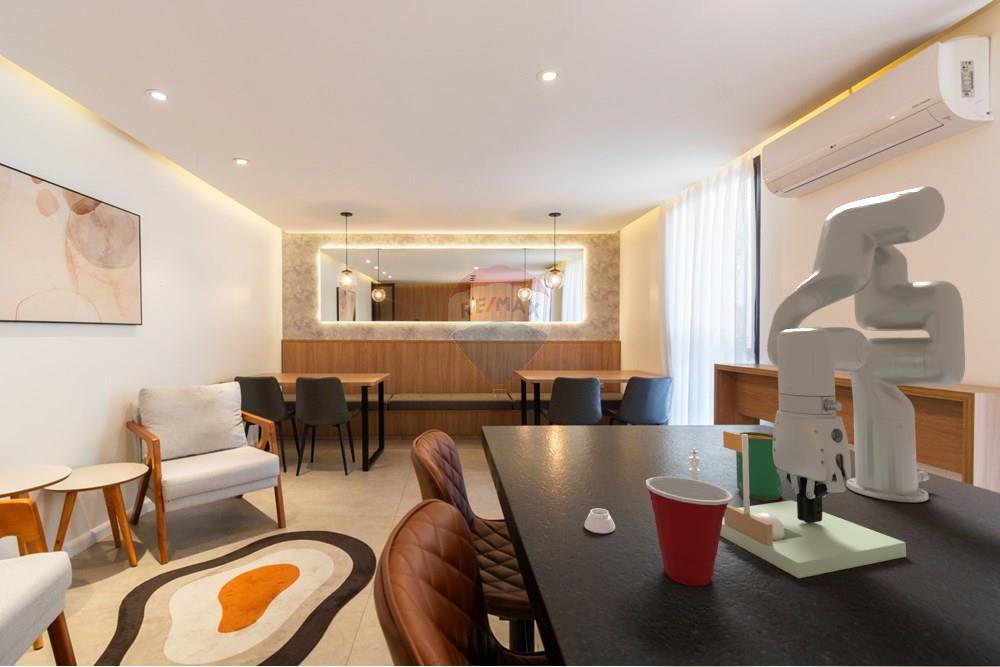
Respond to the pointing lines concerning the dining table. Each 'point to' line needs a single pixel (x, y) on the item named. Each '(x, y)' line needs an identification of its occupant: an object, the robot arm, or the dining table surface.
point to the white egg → (773, 525)
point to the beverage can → (760, 468)
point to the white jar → (599, 521)
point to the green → (802, 533)
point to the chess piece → (694, 464)
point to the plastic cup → (688, 526)
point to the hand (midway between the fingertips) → (809, 520)
